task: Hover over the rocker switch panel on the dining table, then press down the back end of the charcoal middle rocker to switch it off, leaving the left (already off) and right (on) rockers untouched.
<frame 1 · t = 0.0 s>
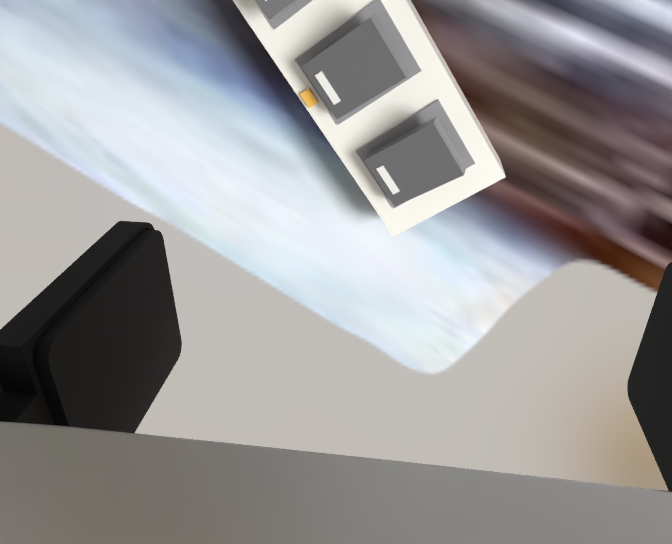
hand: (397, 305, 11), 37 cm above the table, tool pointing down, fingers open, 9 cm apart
middle rocker: (354, 69, 39), point 6 cm above the table, hinge at 12.0°
rocker switch panel: (363, 54, 44), on the table
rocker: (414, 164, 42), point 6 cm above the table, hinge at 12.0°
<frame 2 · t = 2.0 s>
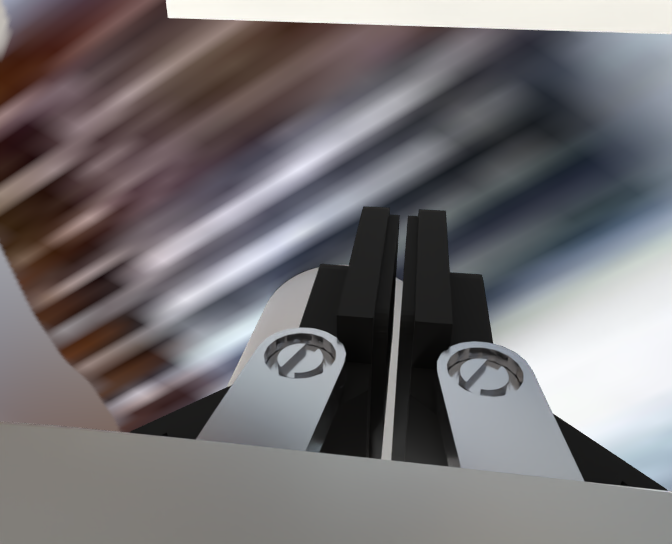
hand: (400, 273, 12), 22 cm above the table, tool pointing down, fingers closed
canister: (350, 344, 41), on the table
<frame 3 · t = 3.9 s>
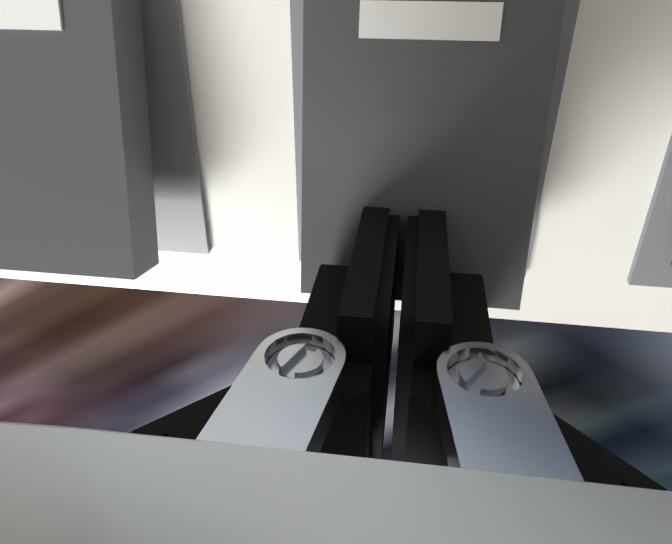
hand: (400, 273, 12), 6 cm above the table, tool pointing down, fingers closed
middle rocker: (419, 147, 11), point 6 cm above the table, hinge at 10.9°, touching gripper
rocker switch panel: (422, 83, 16), on the table
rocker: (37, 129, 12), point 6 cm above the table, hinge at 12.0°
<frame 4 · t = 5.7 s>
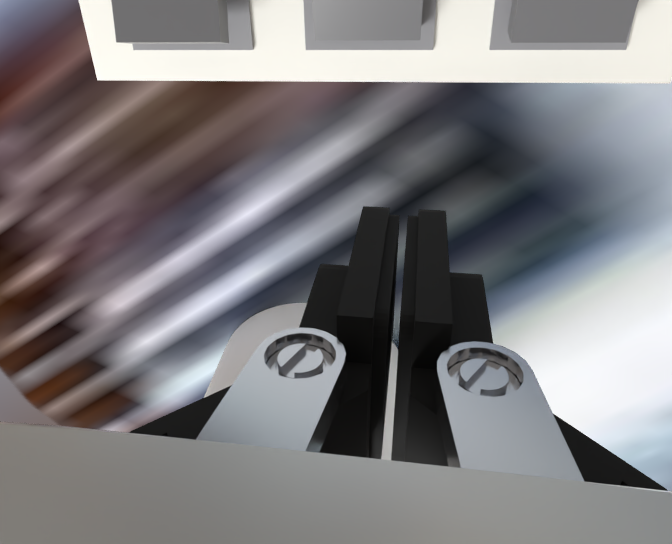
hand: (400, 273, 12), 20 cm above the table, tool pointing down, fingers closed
canister: (314, 377, 41), on the table
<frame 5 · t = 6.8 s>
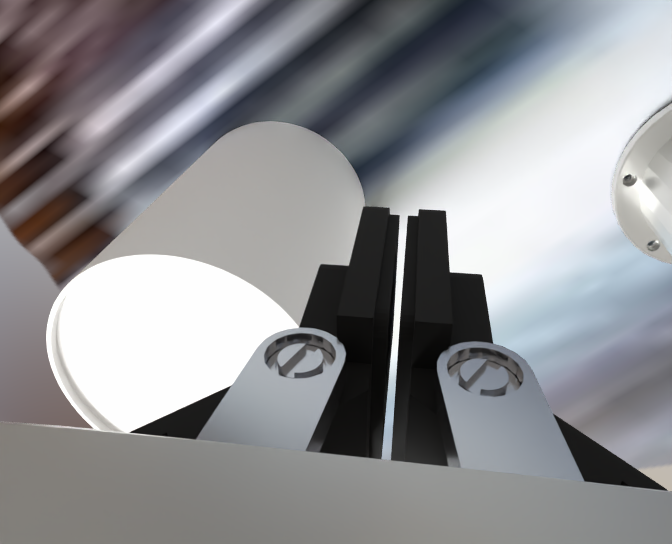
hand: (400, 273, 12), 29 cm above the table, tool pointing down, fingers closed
canister: (279, 207, 44), on the table
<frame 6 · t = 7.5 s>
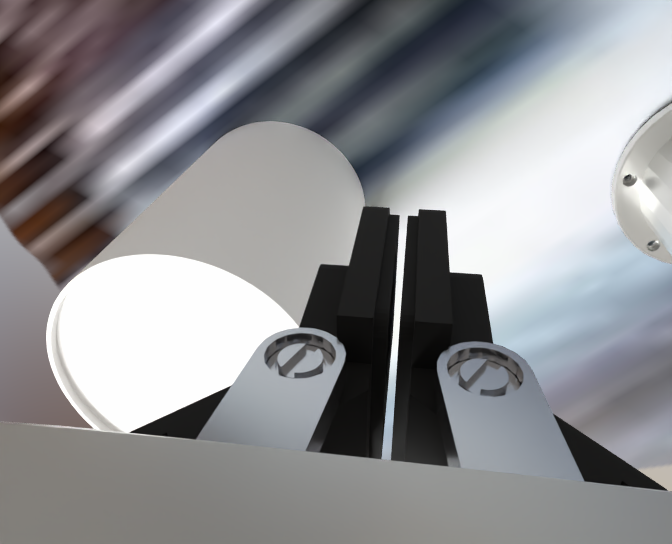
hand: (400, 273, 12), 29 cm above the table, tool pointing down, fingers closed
canister: (279, 207, 44), on the table
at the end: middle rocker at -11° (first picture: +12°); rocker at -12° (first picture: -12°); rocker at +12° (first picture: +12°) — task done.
